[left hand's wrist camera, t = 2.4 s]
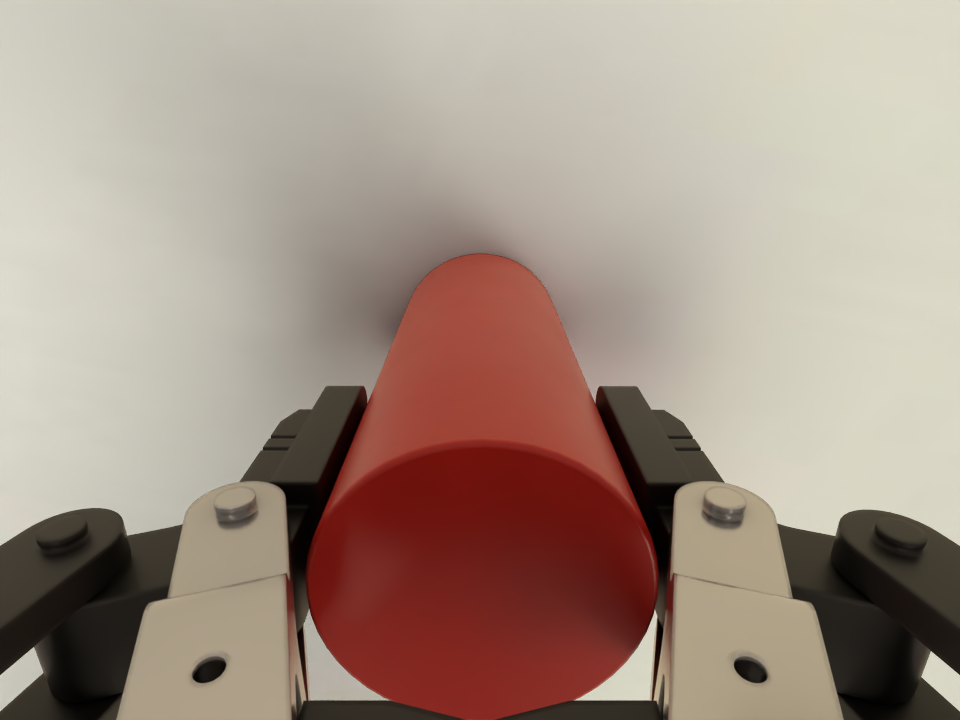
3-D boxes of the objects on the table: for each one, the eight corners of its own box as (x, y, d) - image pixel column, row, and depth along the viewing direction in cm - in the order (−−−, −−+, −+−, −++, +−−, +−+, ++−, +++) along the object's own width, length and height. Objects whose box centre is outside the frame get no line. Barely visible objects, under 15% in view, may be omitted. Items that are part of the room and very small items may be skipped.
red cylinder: (496, 221, 17) (521, 367, 6) (585, 341, 18) (726, 623, 8) (374, 314, 18) (227, 572, 7) (467, 422, 19) (453, 767, 9)
